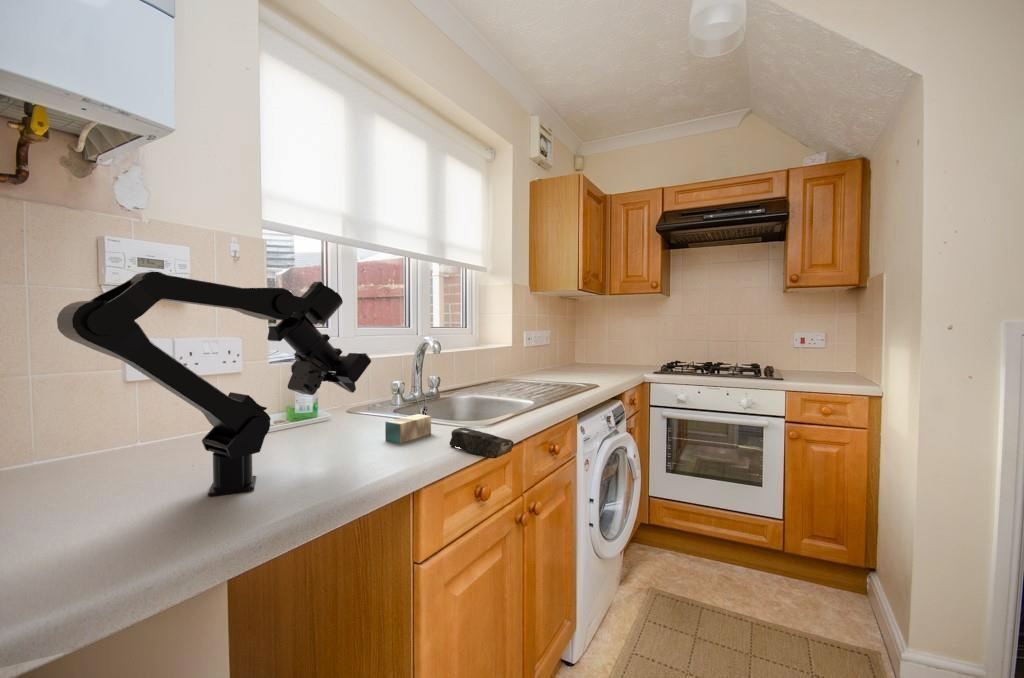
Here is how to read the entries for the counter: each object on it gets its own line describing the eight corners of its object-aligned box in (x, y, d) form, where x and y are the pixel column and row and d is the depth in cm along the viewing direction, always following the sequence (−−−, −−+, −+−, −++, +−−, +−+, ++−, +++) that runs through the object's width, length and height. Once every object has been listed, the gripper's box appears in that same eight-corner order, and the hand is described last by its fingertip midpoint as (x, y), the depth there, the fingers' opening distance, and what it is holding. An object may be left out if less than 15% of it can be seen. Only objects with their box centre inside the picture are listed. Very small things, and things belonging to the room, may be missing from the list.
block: (398, 424, 106) (431, 416, 115) (385, 421, 109) (417, 414, 118) (398, 443, 106) (430, 433, 116) (385, 440, 109) (417, 431, 118)
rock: (499, 461, 94) (499, 441, 94) (441, 449, 103) (441, 430, 102) (519, 452, 101) (519, 433, 101) (463, 441, 109) (463, 424, 109)
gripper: (251, 369, 88) (302, 417, 98) (311, 375, 79) (362, 427, 88) (288, 329, 95) (333, 377, 105) (348, 330, 85) (392, 382, 95)
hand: (353, 391), depth 98 cm, fingers closed
